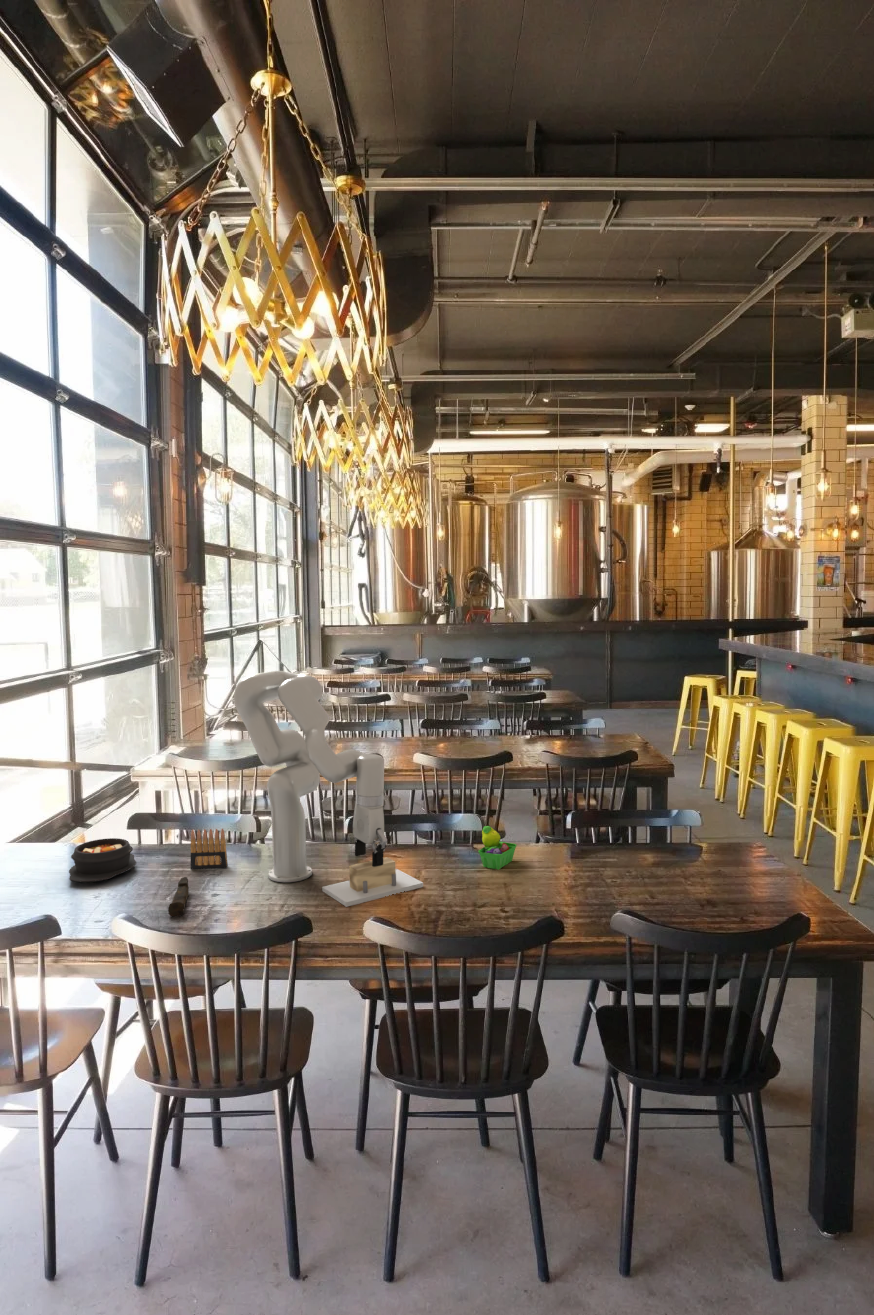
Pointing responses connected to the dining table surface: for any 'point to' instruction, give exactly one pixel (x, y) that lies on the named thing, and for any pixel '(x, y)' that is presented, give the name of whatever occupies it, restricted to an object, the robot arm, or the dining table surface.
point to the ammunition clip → (208, 851)
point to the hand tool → (179, 898)
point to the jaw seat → (352, 897)
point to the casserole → (101, 860)
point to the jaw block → (371, 874)
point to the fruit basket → (495, 850)
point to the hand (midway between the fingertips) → (368, 860)
